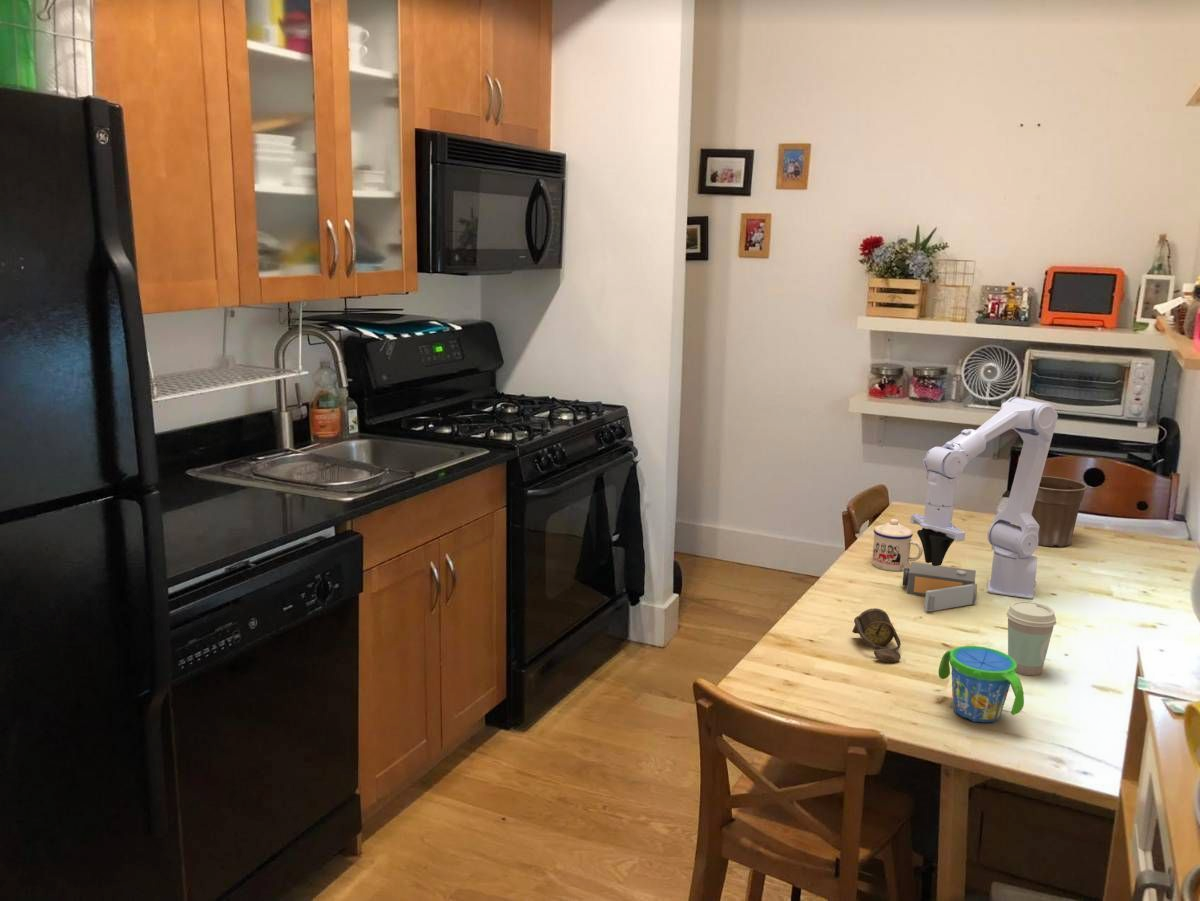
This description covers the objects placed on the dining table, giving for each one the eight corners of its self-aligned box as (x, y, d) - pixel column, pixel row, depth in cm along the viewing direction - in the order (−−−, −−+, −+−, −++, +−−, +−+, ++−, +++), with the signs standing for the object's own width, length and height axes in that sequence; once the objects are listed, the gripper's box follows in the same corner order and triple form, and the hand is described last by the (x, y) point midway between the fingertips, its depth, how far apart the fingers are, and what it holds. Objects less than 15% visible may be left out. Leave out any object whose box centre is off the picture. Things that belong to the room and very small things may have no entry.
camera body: (973, 591, 226) (976, 568, 224) (972, 603, 218) (975, 579, 217) (904, 581, 231) (906, 558, 230) (900, 592, 224) (903, 569, 222)
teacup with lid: (865, 566, 241) (869, 520, 238) (878, 557, 248) (882, 512, 246) (914, 577, 234) (918, 530, 231) (926, 567, 241) (931, 521, 239)
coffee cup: (1045, 682, 180) (1053, 621, 177) (996, 671, 184) (1003, 610, 182) (1052, 666, 187) (1060, 606, 184) (1005, 655, 191) (1012, 596, 189)
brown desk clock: (910, 615, 196) (860, 598, 199) (910, 634, 184) (857, 615, 187) (898, 648, 198) (849, 631, 200) (897, 669, 185) (845, 650, 188)
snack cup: (1036, 729, 163) (1043, 672, 161) (987, 741, 159) (994, 682, 156) (966, 689, 177) (972, 635, 174) (920, 699, 172) (925, 644, 170)
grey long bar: (972, 602, 218) (974, 583, 217) (978, 604, 216) (980, 585, 216) (923, 610, 213) (925, 590, 212) (929, 613, 211) (931, 593, 210)
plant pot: (1021, 528, 276) (1028, 471, 273) (1084, 539, 267) (1092, 481, 263) (1006, 541, 263) (1013, 483, 260) (1072, 554, 254) (1080, 493, 250)
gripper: (901, 496, 217) (896, 555, 220) (949, 513, 204) (942, 576, 207) (927, 493, 220) (921, 552, 222) (975, 510, 207) (968, 572, 210)
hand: (933, 563), depth 215 cm, fingers closed
